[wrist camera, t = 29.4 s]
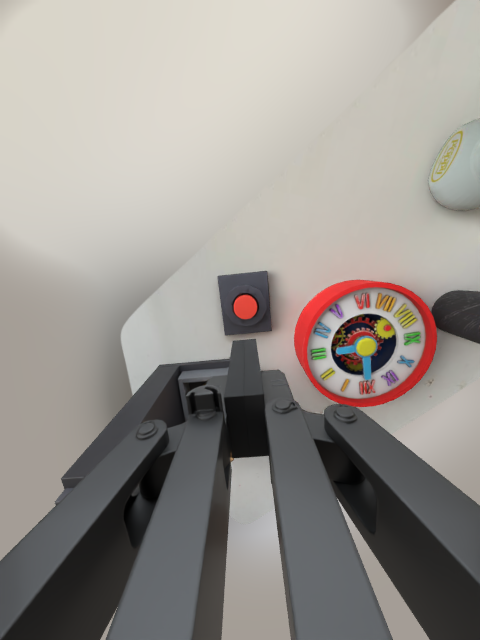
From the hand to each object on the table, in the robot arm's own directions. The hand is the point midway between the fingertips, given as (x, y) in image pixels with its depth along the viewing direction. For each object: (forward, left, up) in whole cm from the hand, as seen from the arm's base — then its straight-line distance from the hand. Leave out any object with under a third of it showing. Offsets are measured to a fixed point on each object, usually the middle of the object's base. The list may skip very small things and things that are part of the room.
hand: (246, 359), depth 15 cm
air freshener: (+33, +16, -25) cm, 44 cm away
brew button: (0, 0, -21) cm, 21 cm away
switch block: (0, 0, -24) cm, 24 cm away
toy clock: (+18, -8, -25) cm, 32 cm away
